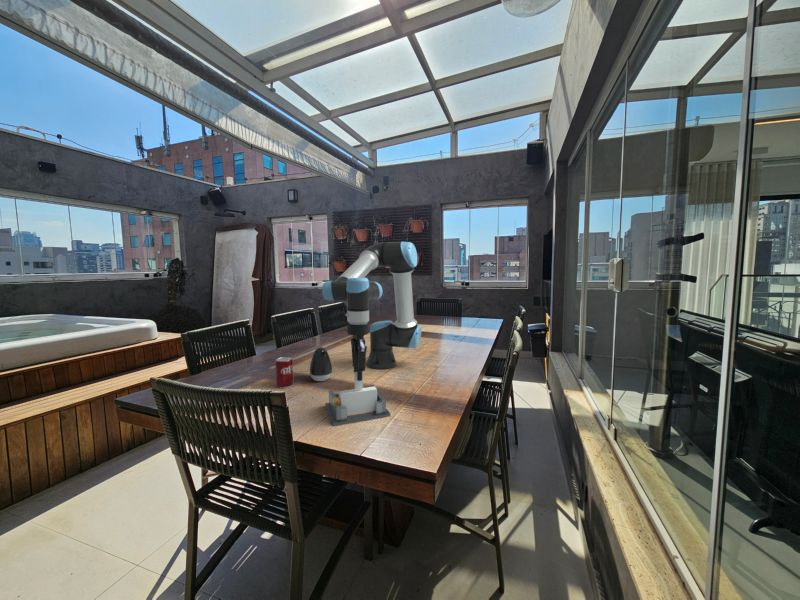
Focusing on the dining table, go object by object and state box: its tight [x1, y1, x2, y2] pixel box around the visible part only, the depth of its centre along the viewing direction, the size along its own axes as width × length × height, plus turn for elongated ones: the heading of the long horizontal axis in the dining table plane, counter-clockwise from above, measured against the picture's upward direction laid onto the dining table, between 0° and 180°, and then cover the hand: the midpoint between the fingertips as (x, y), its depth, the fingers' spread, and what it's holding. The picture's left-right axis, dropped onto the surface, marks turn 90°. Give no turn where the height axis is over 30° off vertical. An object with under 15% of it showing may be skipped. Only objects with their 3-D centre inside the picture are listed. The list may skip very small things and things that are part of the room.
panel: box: [338, 385, 378, 416], centre depth 119 cm, size 13×3×8 cm, turn 112°
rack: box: [324, 384, 391, 427], centre depth 122 cm, size 20×17×7 cm
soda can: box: [274, 356, 295, 389], centre depth 147 cm, size 7×7×12 cm
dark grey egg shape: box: [309, 346, 333, 382], centre depth 154 cm, size 10×10×15 cm
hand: (358, 388), depth 118 cm, fingers closed
